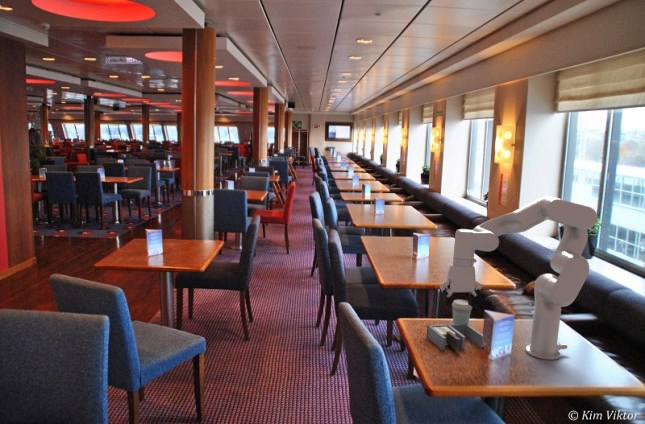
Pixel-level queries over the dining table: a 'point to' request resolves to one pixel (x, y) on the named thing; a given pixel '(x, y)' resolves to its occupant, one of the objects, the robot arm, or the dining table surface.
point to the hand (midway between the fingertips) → (459, 306)
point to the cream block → (449, 337)
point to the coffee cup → (461, 311)
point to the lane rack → (460, 332)
